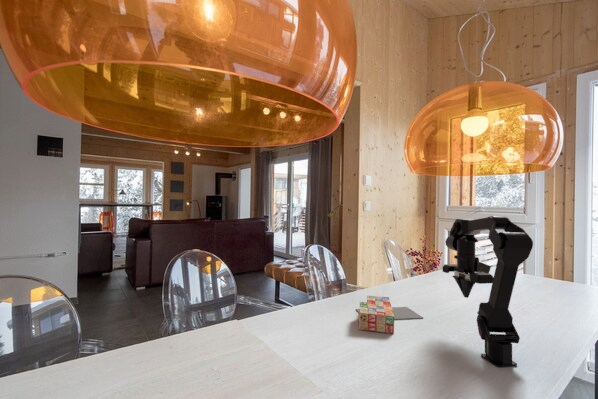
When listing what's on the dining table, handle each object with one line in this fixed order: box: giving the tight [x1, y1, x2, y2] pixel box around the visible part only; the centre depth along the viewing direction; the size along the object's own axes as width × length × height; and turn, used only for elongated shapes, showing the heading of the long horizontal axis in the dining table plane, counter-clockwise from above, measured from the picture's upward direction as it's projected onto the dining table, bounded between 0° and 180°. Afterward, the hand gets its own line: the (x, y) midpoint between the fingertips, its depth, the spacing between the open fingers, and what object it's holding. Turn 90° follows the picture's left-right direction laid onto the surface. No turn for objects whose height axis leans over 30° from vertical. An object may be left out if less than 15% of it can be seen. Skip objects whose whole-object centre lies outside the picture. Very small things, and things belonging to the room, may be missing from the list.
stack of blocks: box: [358, 295, 395, 335], centre depth 115 cm, size 21×6×12 cm
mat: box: [355, 306, 424, 321], centre depth 123 cm, size 13×24×1 cm, turn 99°
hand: (466, 297), depth 105 cm, fingers closed
